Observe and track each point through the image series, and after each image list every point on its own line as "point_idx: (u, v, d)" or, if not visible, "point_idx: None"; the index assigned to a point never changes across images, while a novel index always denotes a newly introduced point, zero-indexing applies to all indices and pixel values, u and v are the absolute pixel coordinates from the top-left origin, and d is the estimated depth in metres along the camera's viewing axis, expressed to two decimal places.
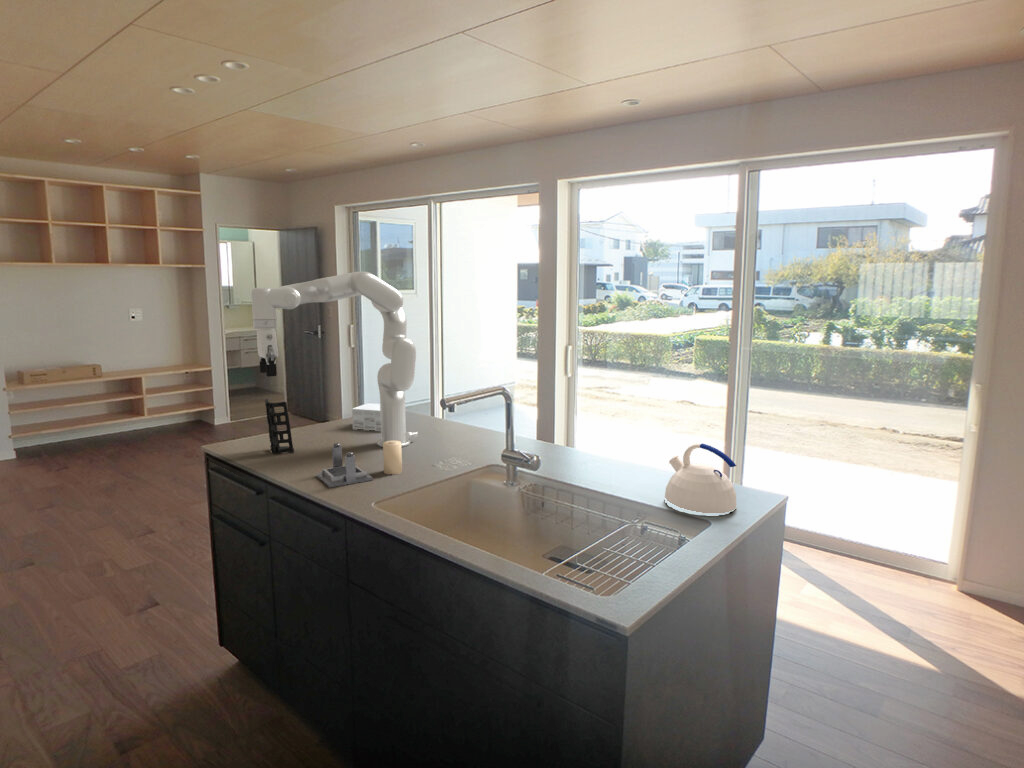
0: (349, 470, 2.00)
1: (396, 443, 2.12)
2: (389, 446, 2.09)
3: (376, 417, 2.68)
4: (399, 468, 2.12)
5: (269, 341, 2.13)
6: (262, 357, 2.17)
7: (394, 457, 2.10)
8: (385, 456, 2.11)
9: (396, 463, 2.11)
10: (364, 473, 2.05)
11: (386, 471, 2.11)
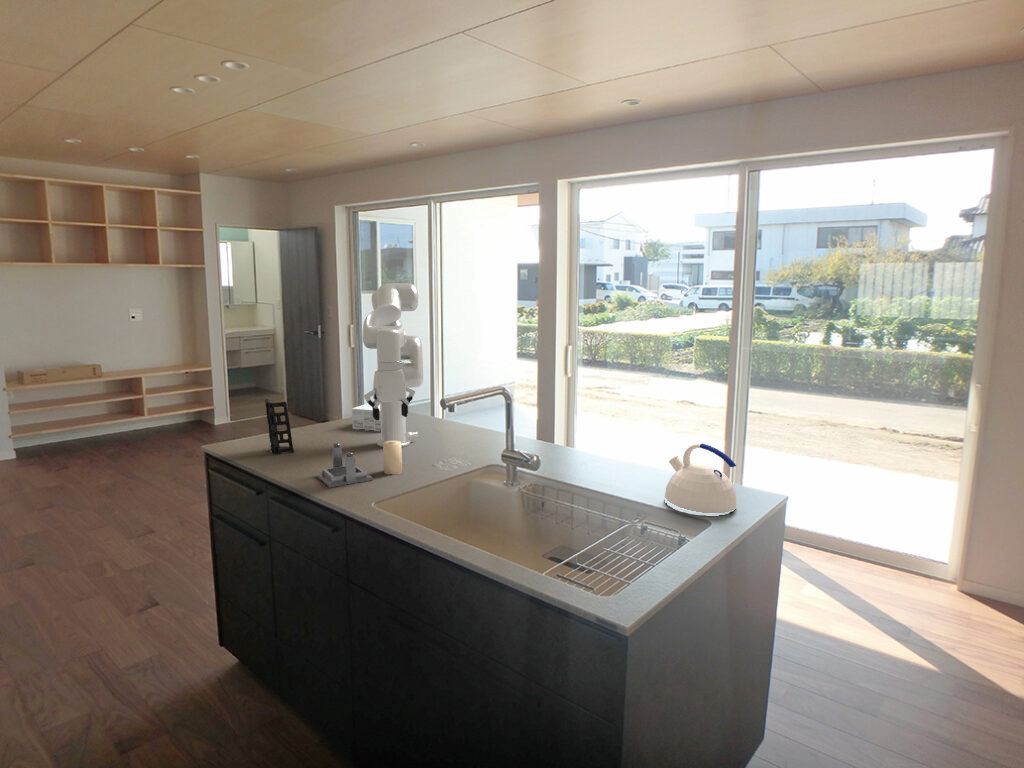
0: (349, 470, 2.00)
1: (396, 443, 2.12)
2: (389, 446, 2.09)
3: None
4: (399, 468, 2.12)
5: None
6: (394, 400, 2.09)
7: (394, 457, 2.10)
8: (385, 456, 2.11)
9: (396, 463, 2.11)
10: (364, 473, 2.05)
11: (386, 471, 2.11)
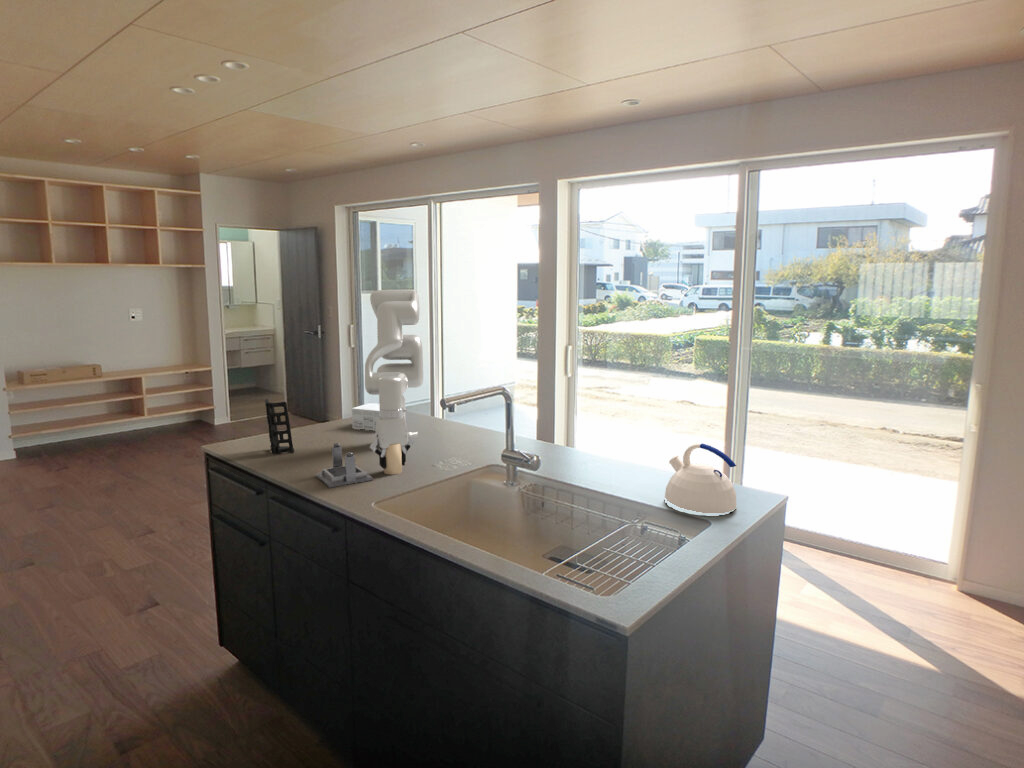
0: (349, 470, 2.00)
1: None
2: (389, 446, 2.09)
3: (375, 417, 2.68)
4: (399, 468, 2.12)
5: None
6: None
7: (394, 457, 2.10)
8: (385, 456, 2.11)
9: (396, 463, 2.11)
10: (364, 473, 2.05)
11: (386, 471, 2.11)
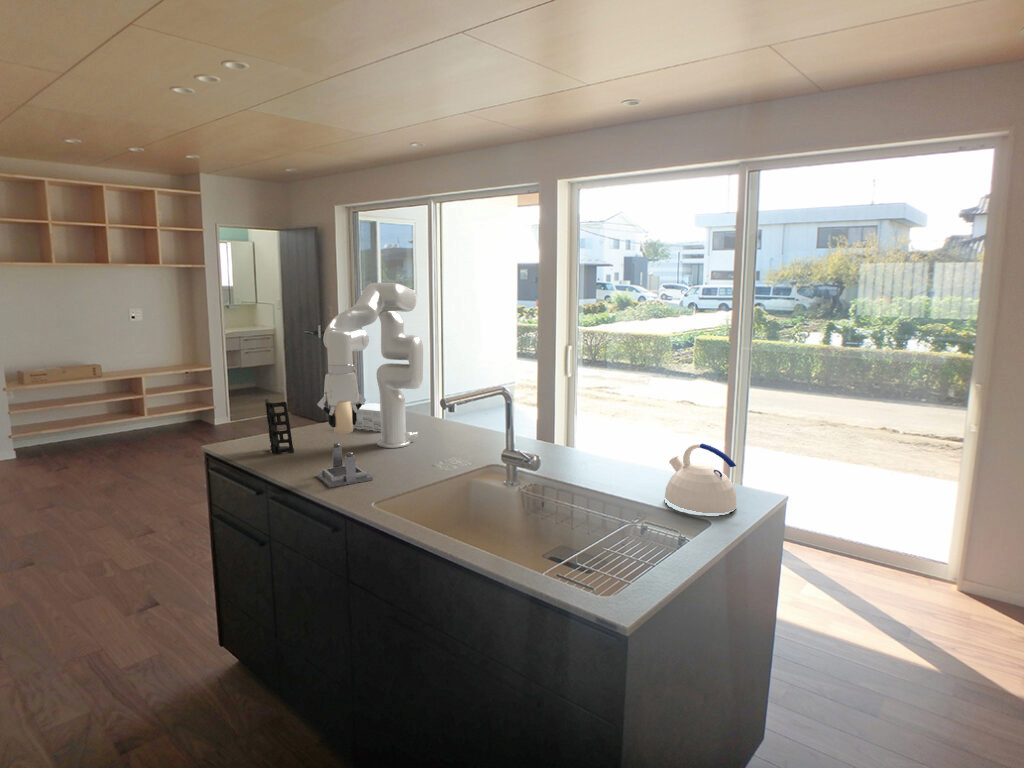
0: (349, 470, 2.00)
1: None
2: (338, 403, 2.00)
3: (374, 417, 2.68)
4: (349, 427, 2.03)
5: None
6: None
7: (343, 415, 2.01)
8: (334, 414, 2.01)
9: (346, 422, 2.01)
10: (364, 473, 2.05)
11: (335, 430, 2.02)
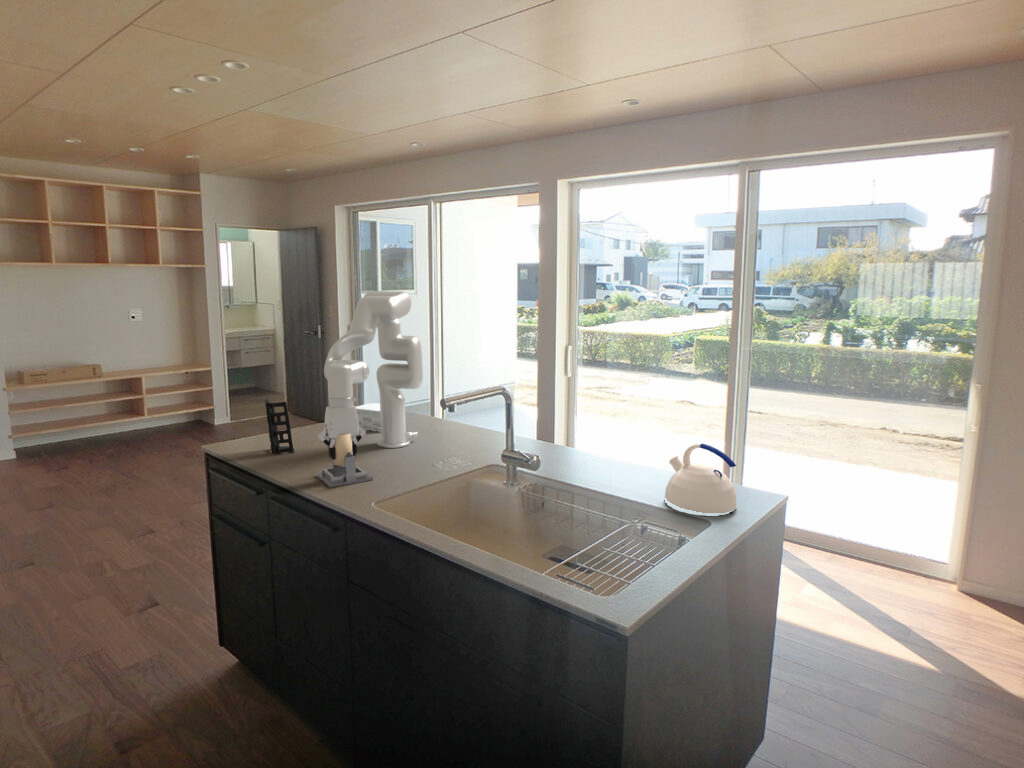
0: (349, 470, 2.00)
1: None
2: (338, 436, 2.02)
3: (373, 417, 2.68)
4: None
5: None
6: None
7: (343, 447, 2.02)
8: (334, 447, 2.03)
9: None
10: (364, 473, 2.05)
11: (335, 462, 2.03)
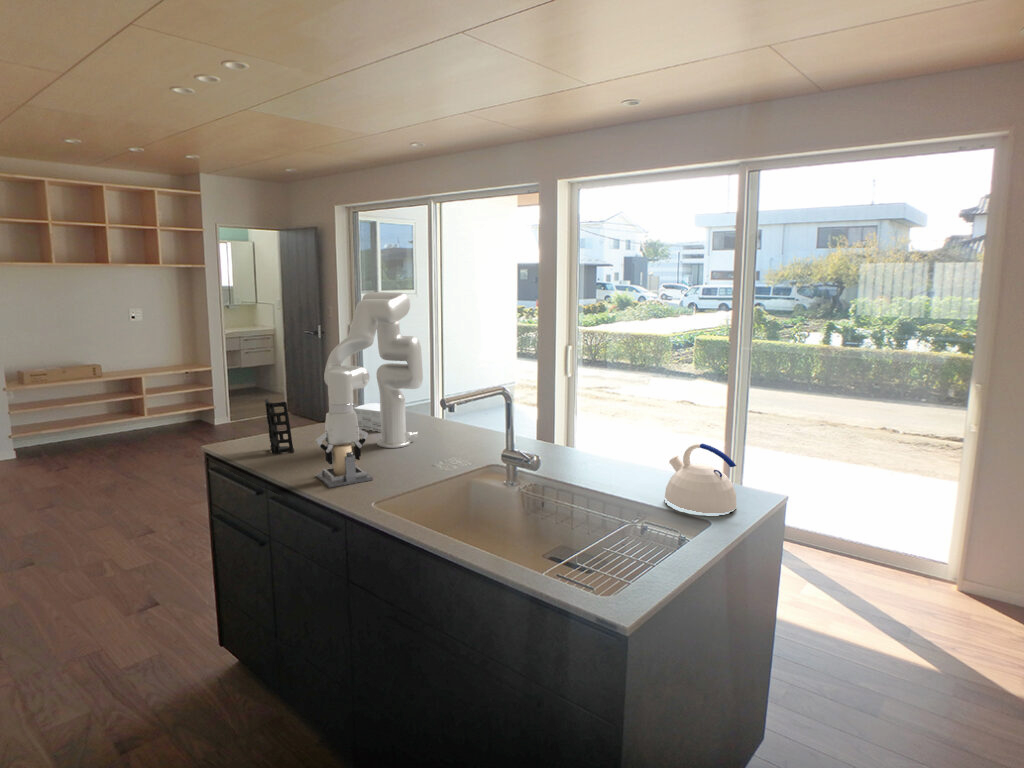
0: (349, 470, 2.00)
1: (346, 445, 2.04)
2: (338, 449, 2.02)
3: (373, 417, 2.68)
4: None
5: None
6: (347, 442, 2.04)
7: (343, 460, 2.03)
8: (334, 459, 2.04)
9: None
10: (364, 473, 2.05)
11: (336, 474, 2.04)
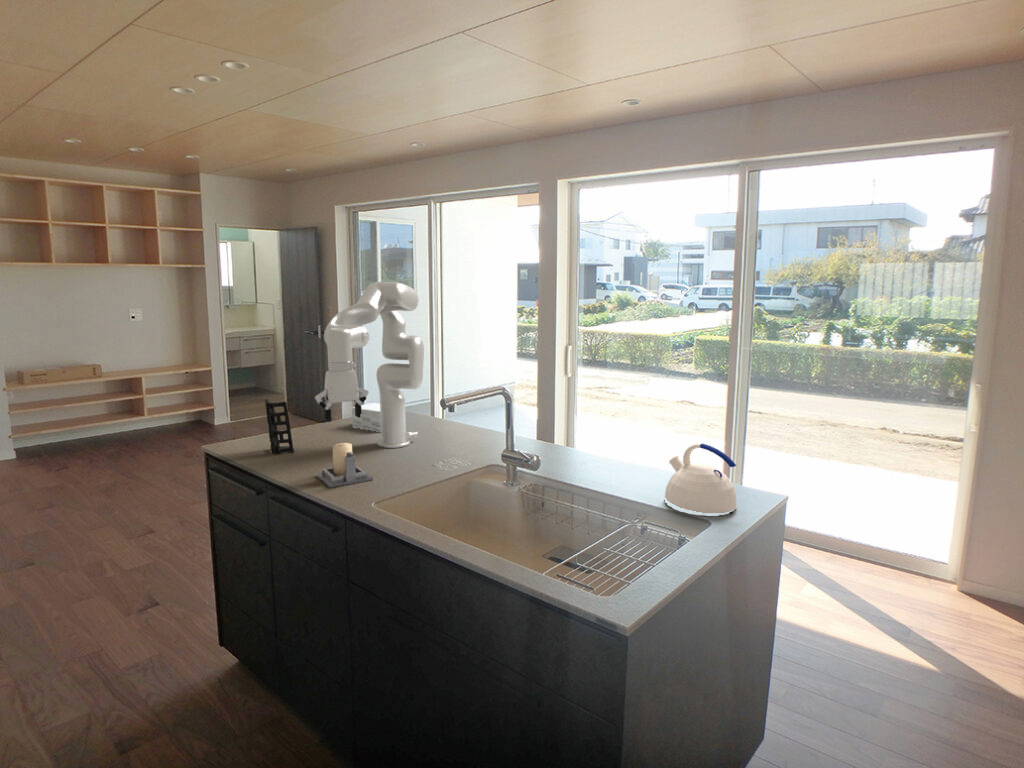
0: (349, 470, 2.00)
1: (346, 446, 2.04)
2: (338, 449, 2.02)
3: (372, 417, 2.68)
4: None
5: None
6: (347, 401, 2.05)
7: (343, 460, 2.03)
8: (335, 459, 2.04)
9: None
10: (364, 473, 2.05)
11: (336, 475, 2.04)
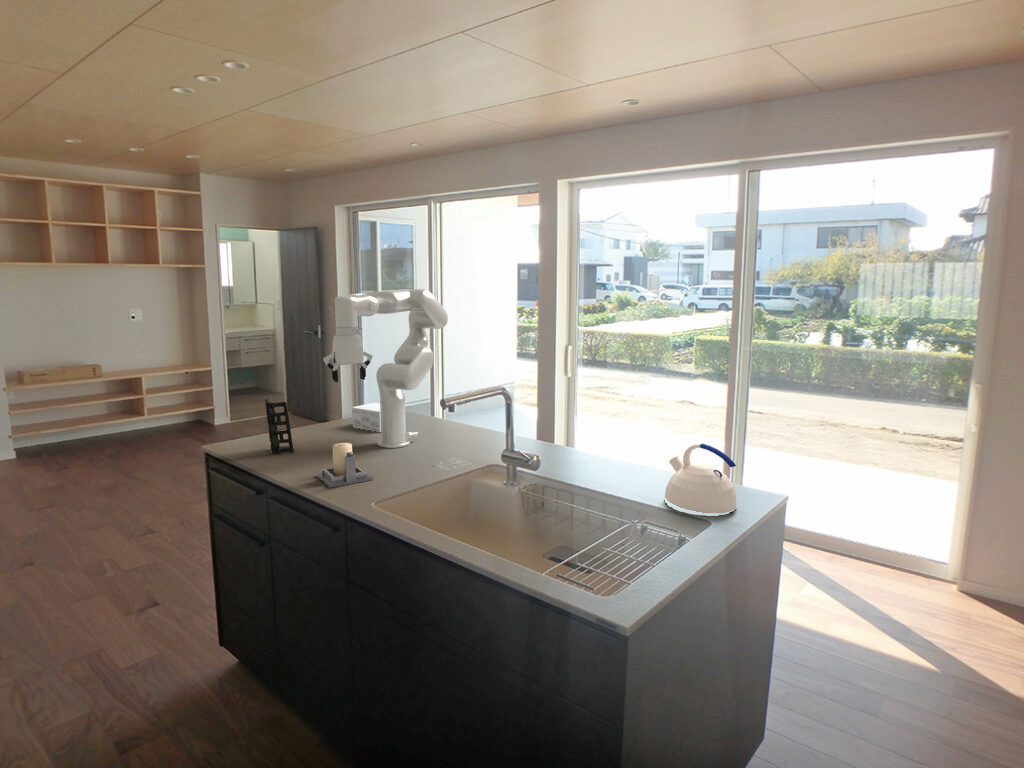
0: (349, 470, 2.00)
1: (346, 445, 2.04)
2: (338, 449, 2.02)
3: (371, 417, 2.68)
4: None
5: None
6: (352, 363, 2.23)
7: (343, 460, 2.03)
8: (335, 459, 2.04)
9: None
10: (364, 473, 2.05)
11: (336, 475, 2.04)
